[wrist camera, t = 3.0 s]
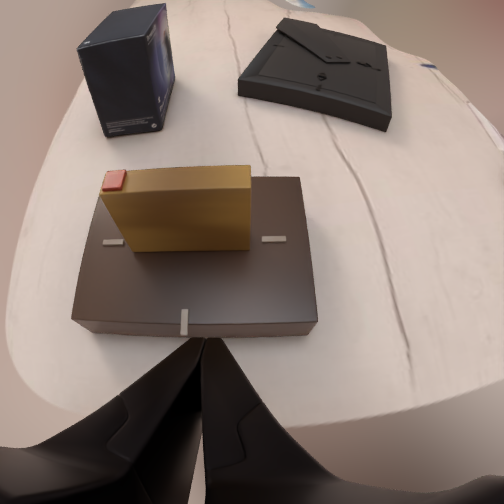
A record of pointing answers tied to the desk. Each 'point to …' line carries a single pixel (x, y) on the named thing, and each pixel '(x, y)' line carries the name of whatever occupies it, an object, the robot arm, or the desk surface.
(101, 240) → the plate
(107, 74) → the small box
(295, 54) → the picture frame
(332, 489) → the robot arm
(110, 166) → the desk surface
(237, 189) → the yellow rectangular slab
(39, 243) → the desk surface
